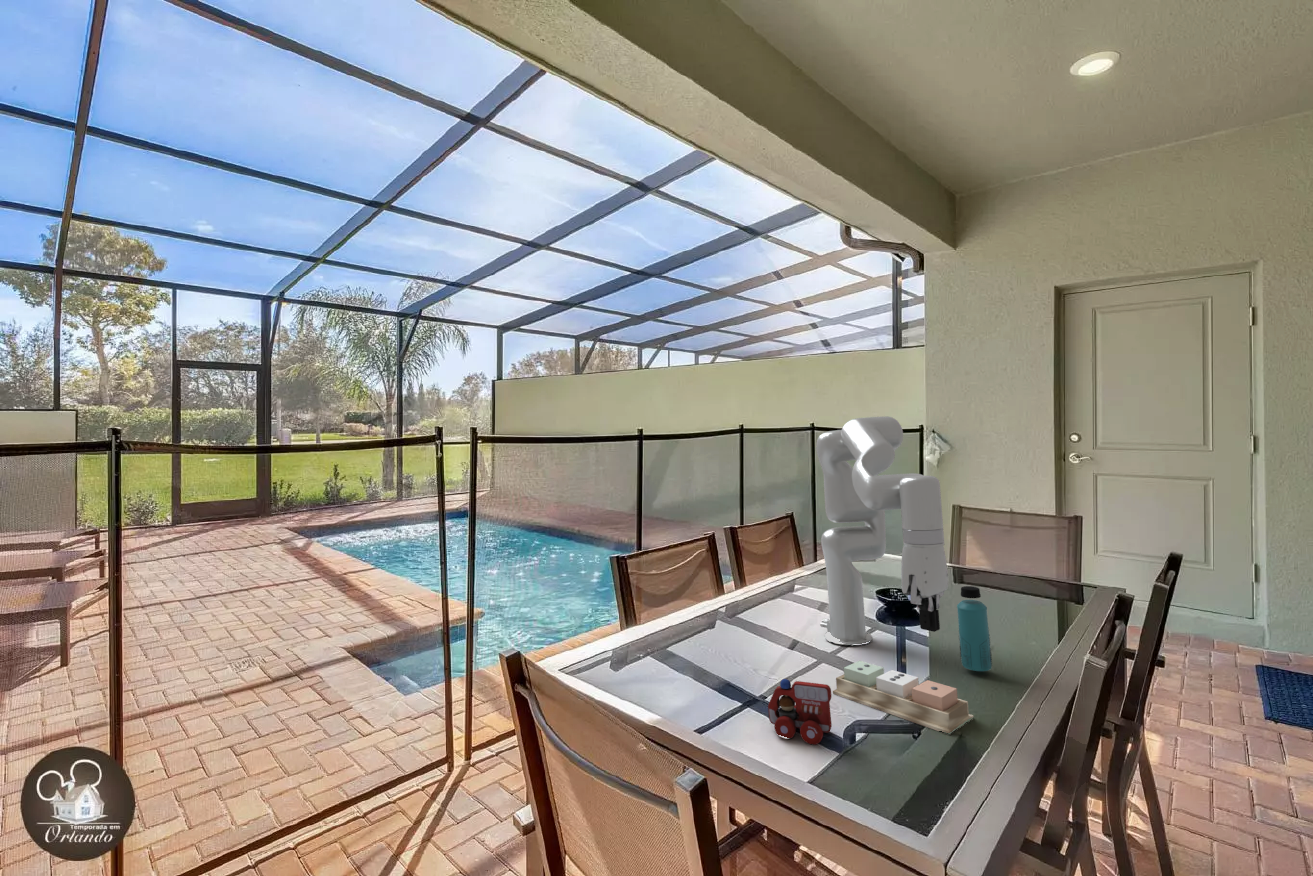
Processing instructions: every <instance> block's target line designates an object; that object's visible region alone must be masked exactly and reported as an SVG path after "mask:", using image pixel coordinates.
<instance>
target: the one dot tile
mask: <svg viewBox="0 0 1313 876" xmlns="http://www.w3.org/2000/svg"><path fill="white" fill-rule="evenodd" d="M912 698H913V702H915V703H918V704H921V705H924V706H927V707H930V708H933V709H936V710H939V711H942V712H944V711H946V710H947V709H949V708H951V707H952V706H954V705H956V704H957V703H958V699H959V698H958V688H956V687H953V686H949V685H945V684H942V683H939V682H935V681H932V680H928V679H927V680H925V681H923V682H922V683H920V684H919V685H918V686H916V687H914V688H912Z"/></svg>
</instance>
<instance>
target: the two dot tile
mask: <svg viewBox="0 0 1313 876" xmlns="http://www.w3.org/2000/svg"><path fill="white" fill-rule="evenodd" d="M884 673H885V669H884V667H883V666H879V665H877V664H873V663H869V662H866V661H864V660H863V661H862V660H857V661H856V662H853V663H852V664H849V665H846V666H845V667H843V675H844V679H845V680H847V681H850V682H853V683H856V684H860V685H863V686H866V687H871V686H873V685H875V684H876V677H878V676H880V675H882V674H884Z"/></svg>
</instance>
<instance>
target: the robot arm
mask: <svg viewBox="0 0 1313 876" xmlns="http://www.w3.org/2000/svg"><path fill="white" fill-rule="evenodd" d="M903 440H904V431H903V427H902V425H901V424H900V422H899V421H898V420H897V419H896V418H894V417H892V416H885V415H884V416H870V417H869V416H867V417H857V418H853V419H849V420H848V421H847V422H845V423H844V425H843V426H842V428H841V429H837V430H829V431H825V432H823V433H821V434H820V435H819V436H818V437H817V440H816V448H815V449H816V450H815V451H816V455H817V458H818V461H819V464H820V468H821V471H822V476H823V489H824V492H823V493H824V507H825V515H826V518H827V519H828V520H829V521H830V522H832V523H834V524H835V523H837V524H838V523H839V524H843V523H844V524H846V523H847V524H848V523H849V524H850V523H863V522H864V525H857V526H856V525H855V526H853V525H851V526H850V525H849V526H839V527H836V526H835V527H832V528H828V529H827V530H825V531H824V532H823V533H822V534H821V538H820V543H821V549H822V554H823V557H824V559H823V560H824V563H825V570H826V571H825V572H826V583H827V597H828V599H827V600H828V612H829V614H828V615H829V618H825V617H824V618H822V619H821V622H820V623H819V625H820V627H821V628H826V633H827V632H830V633H831V635H832V636H833V637H835V638H837V639H840V641H839V642H842V643H847V644H862V643H866V642H869V641H871V640H872V641H873V636H872V634H871V633H869V632H868V631H866V619H865V618H866V617H865V616H866V615H865V603H864V601H865V600H864V588H863V587H864V586H863V577H862V574H861V573H860V571H859V570H858V569H857V568H856V567H855V566H854V564H853V563H852V562H856V561H866V560H867V561H868V560H878V559H880V558H882V557H884V556H885V553H886V550H887V539H886V537H887V536H886V535H887V534H886V532H887V531H886V530H887V529H886V513H885V512H886V511H891V510H900V513H901V514H900V515H901V528H902V540H903V544H902V545H903V546H902V552H901V563H900V564H901V568H900V570H901V574H900V575H901V591H902V594H903V595H905V596H910V604H913V605H916V608H917V610H918V613H919V614H918V616H919V628H920V630H924V631H929V632H933V633H934V632H937V631H940V629H941V626H940V625H941V624H940V614H939V613H940V612H939V610H940V608H941V607H940V606H941V605H940V602H941V601H940V599H941V598H942V597H943V596H944V595H945V591H946V590H948V588H949V575H948V574H949V573H948V564H947V557H946V552H945V547H944V546H945V534H944V521H943V520H944V519H943V509H942V508H943V507H942V493H941V492H942V491H941V484H940V483H941V482H940V480H939V478H937V477H936V476H933V475H923V474H921V473H916V472H913V473H912V472H911V473H897V474H896V473H893V474H891V473H890V474H882V473H883V472H885V471H886V470H888V469H889V468H890V467H891V466H892V465H893V463H894V462H895V461H894V460H895V457H896V454H895V451H896V450H897V449H898V448H899V447H901V445H902V443H903ZM848 461H855V462H854V465H853V466H851V464H850V463H849V462H848ZM879 474H880V475H879ZM866 633H868V634H866ZM872 641H871V642H872Z"/></svg>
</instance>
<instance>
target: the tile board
mask: <svg viewBox="0 0 1313 876" xmlns="http://www.w3.org/2000/svg"><path fill="white" fill-rule="evenodd" d="M835 682H836V689H834V690H832V694H833V695H836V696H839V697H842V698H844V699H846V700H850V701H852V702H855V703H858V704H861V705H864V706H867V707H869V708H872V709H876V710H879V712H883V713H886V714H889V715H892V716H894V717H897V718H900V719H902V720H906V721H909V722H912V723H914V724H917V725H920V726H922V727H926V728H929V729H931V730H935V731H937V732H939V731H942V732H946V733H950V732H952V731H953V730H954V729H956V728H957V727H958V726H959V725H961V724H963V723H964V722H965V721H967V720H968V719H971V718H973V717H974V715H973V714H970V711H969V710H970V709H969V701H967V700H963V699H961V698H958V703H957V704H956V705H954V706H952V707H951V708H949V709H947V710H946V711H944V712H942V711H939V710H936V709H933V708H930V707H927V706H924V705H921V704H918V703H915V702H913V698H912V695H911V696H909V697H907V698H905V699H902V698H899V697H896V696H893V695H890V694H887V693H884V692H881V691H878V690H877V685H876V684H875V685H873V686H871V687H866V686H863V685H860V684H856V683H853V682H850V681H847V680H845V679H844V674H840V675H839V676H837V677H836V678H835ZM974 718H975V717H974ZM942 732H941V733H942Z"/></svg>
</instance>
